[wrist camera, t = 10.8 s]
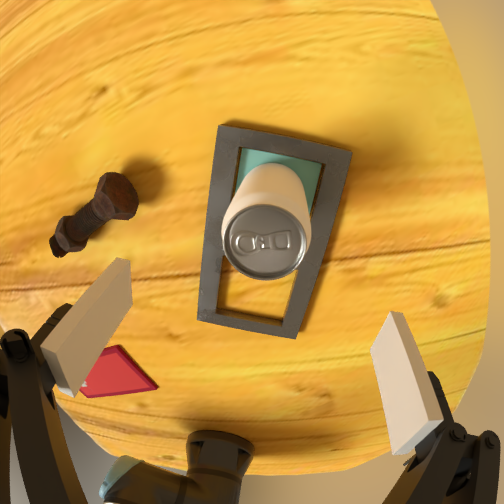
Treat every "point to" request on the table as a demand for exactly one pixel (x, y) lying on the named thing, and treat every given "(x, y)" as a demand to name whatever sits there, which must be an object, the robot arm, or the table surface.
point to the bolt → (95, 214)
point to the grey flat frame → (320, 222)
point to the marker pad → (301, 167)
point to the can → (267, 223)
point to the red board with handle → (115, 376)
